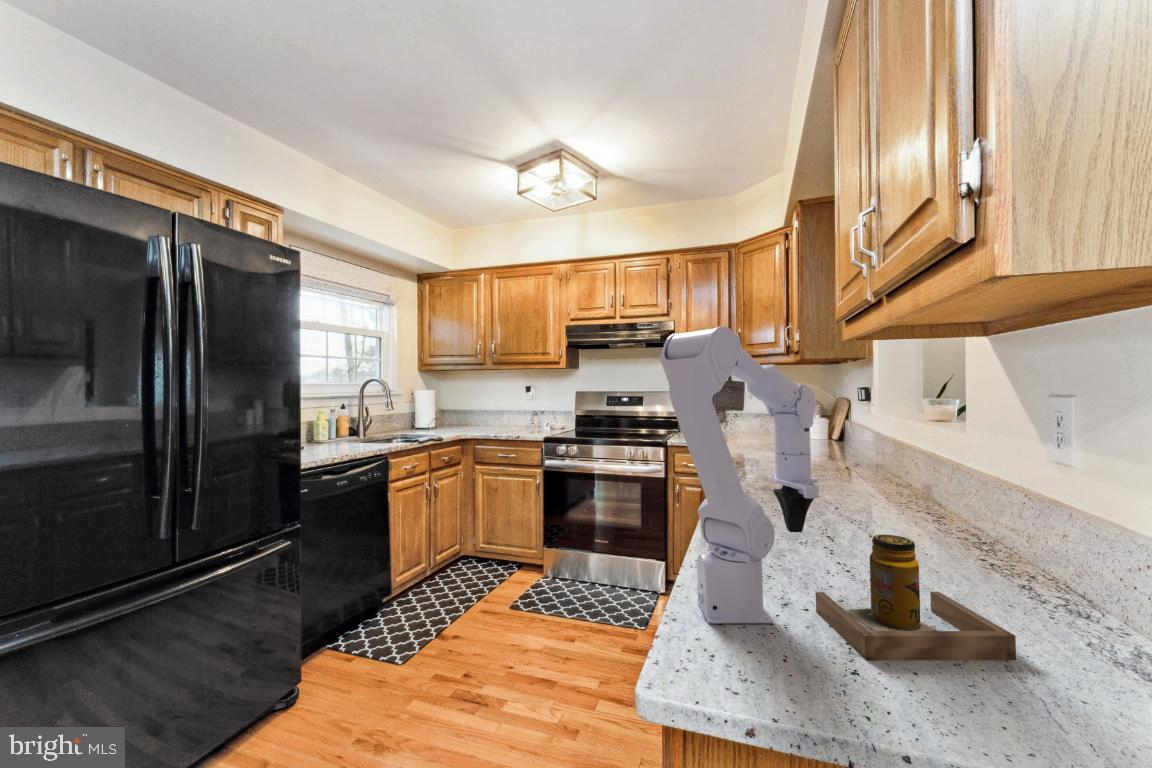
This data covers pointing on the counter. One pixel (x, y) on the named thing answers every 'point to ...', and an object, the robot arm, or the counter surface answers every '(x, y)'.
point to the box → (924, 635)
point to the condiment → (893, 587)
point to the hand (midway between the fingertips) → (794, 531)
